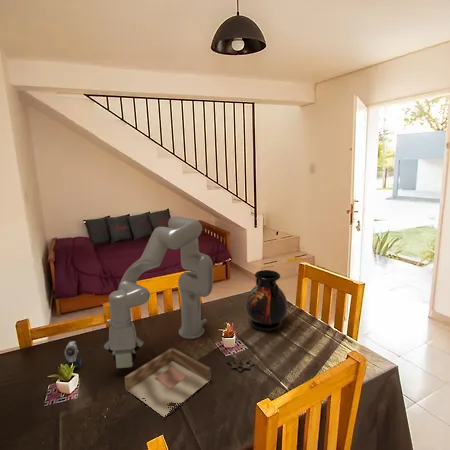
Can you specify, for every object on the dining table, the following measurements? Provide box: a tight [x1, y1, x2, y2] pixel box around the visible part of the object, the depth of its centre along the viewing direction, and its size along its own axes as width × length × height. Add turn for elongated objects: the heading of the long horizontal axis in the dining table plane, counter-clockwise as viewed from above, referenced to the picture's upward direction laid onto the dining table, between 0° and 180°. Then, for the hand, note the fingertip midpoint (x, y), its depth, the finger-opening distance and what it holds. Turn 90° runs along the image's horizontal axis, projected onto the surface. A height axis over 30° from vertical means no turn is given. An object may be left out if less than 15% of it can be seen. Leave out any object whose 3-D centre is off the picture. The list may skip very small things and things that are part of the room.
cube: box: [115, 349, 134, 369], centre depth 133 cm, size 6×6×6 cm
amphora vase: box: [245, 269, 289, 332], centre depth 169 cm, size 22×22×28 cm
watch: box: [63, 340, 83, 370], centre depth 137 cm, size 6×8×11 cm
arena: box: [124, 347, 212, 417], centre depth 126 cm, size 24×22×6 cm
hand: (125, 360), depth 134 cm, fingers closed on cube, 6 cm apart
